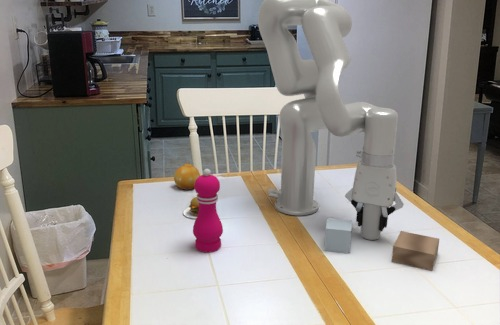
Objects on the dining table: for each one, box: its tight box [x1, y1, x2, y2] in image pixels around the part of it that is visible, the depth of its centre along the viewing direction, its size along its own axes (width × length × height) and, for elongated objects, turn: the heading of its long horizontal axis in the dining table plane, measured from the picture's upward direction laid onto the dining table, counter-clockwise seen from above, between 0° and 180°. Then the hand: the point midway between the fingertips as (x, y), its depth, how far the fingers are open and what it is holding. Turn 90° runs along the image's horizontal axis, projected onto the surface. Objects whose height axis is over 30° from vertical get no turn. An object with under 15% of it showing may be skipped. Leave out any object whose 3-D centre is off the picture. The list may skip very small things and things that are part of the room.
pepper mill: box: [192, 168, 224, 253], centre depth 122 cm, size 7×7×20 cm
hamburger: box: [182, 196, 199, 220], centre depth 143 cm, size 12×12×6 cm
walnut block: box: [391, 230, 440, 272], centre depth 120 cm, size 9×9×4 cm
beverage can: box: [360, 204, 382, 241], centre depth 129 cm, size 5×5×12 cm
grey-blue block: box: [323, 217, 352, 254], centre depth 125 cm, size 6×6×6 cm
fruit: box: [173, 162, 201, 190], centre depth 162 cm, size 8×8×8 cm
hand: (371, 226), depth 130 cm, fingers closed on beverage can, 4 cm apart
